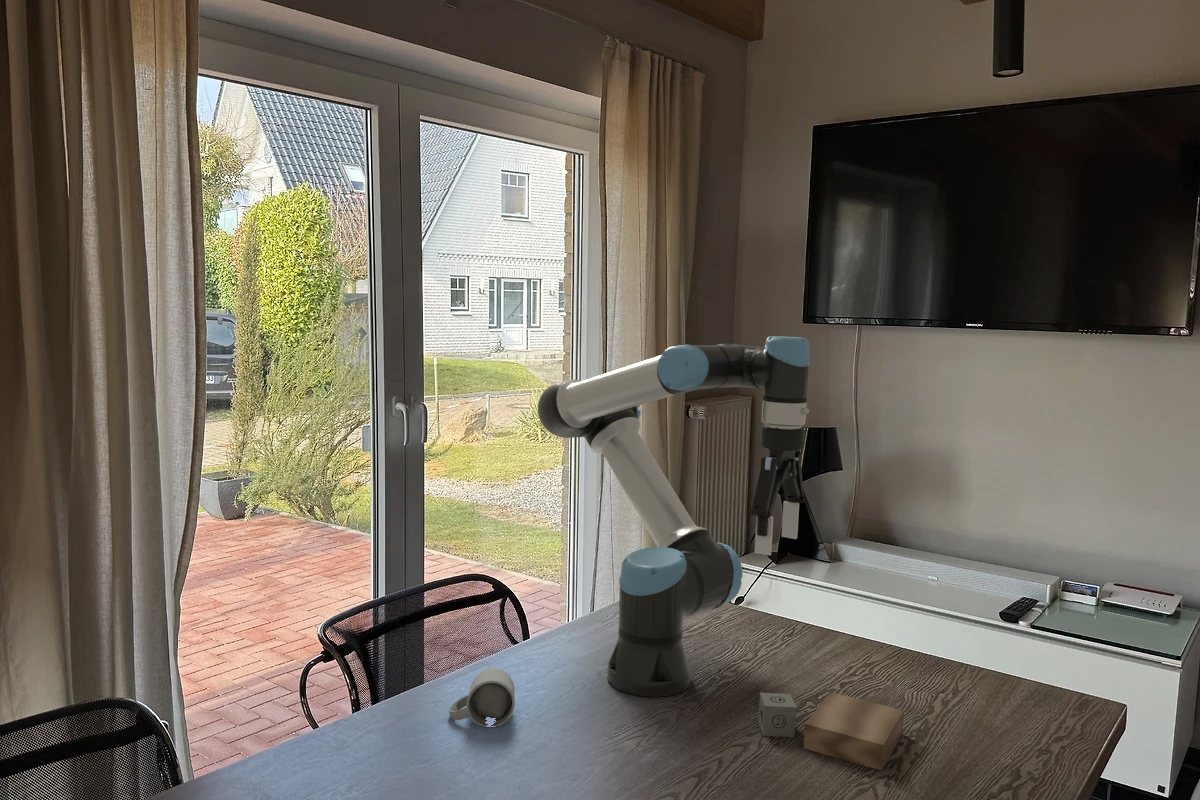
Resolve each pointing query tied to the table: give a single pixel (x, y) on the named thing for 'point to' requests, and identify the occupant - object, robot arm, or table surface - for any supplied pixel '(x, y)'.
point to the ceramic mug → (487, 698)
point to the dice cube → (777, 714)
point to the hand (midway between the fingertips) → (776, 545)
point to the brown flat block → (854, 730)
